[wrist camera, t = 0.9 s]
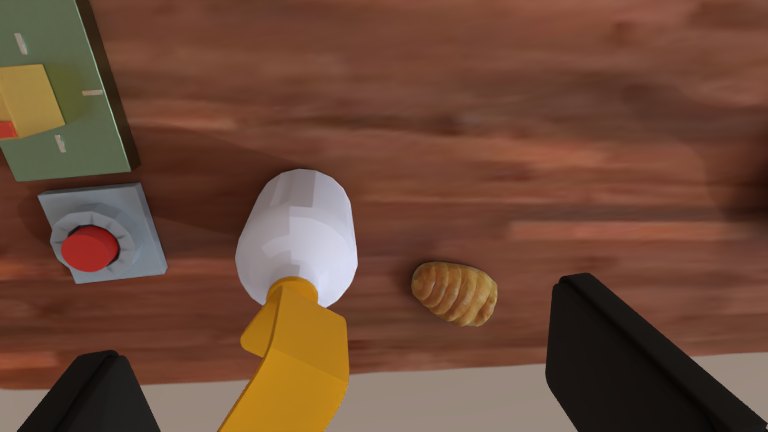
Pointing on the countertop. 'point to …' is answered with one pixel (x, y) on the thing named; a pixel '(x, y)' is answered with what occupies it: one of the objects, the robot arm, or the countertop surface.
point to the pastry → (455, 292)
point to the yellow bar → (26, 102)
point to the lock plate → (66, 92)
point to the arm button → (89, 249)
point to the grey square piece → (107, 228)
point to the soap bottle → (295, 304)
